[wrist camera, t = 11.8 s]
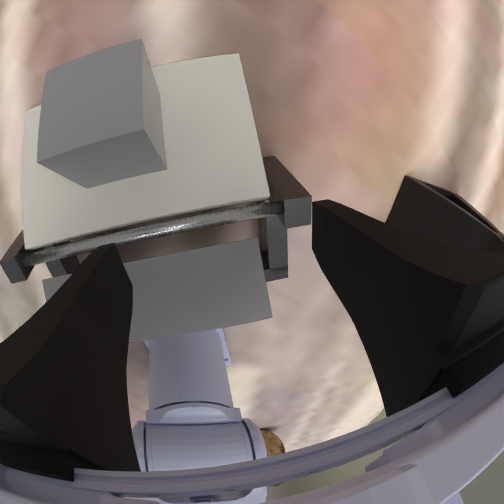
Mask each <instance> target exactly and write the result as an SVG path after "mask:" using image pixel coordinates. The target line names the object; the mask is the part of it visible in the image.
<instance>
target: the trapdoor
mask: <svg viewBox="0 0 504 504" xmlns="http://www.w3.org/2000/svg"><path fill="white" fill-rule="evenodd" d="M151 69H152V72H153V75H154V78H155V81H156V84H157V87H158V90H159V93H160V99H161V112H162V123H163V134H164V144H165V153H166V162H167V170H163V171H158V172H153V173H149V174H144V175H140V176H135V177H131V178H127V179H123V180H119V181H115V182H111V183H107V184H103V185H99V186H95V187H92V188H88V189H86V188H84V187H82V186H80V185H78V184H77V183H75V182H73V181H71V180H69V179H67V178H65V177H63V176H61V175H59V174H57V173H55V172H53V171H52V170H50V169H48V168H46V167H44V166H42V165H40V164H38V163H37V145H38V131H39V121H40V112H41V105H39V106H37V107H34V108H32V109H30V110H28V111H26V117H25V126H24V136H23V149H22V172H21V196H22V219H23V233H24V243H25V249H38V248H42V247H45V246H49V245H53V244H56V243H60V242H64V241H68V240H72V239H76V238H80V237H84V236H88V235H92V234H96V233H100V232H105V231H109V230H113V229H118V228H122V227H126V226H131V225H135V224H140V223H145V222H149V221H154V220H159V219H164V218H168V217H173V216H178V215H183V214H188V213H194V212H199V211H204V210H209V209H215V208H220V207H226V206H232V205H237V204H243V203H249V202H255V201H261V200H267V199H268V198H269V196H270V193H269V188H268V183H267V178H266V174H265V169H264V164H263V159H262V154H261V150H260V145H259V140H258V136H257V131H256V127H255V122H254V118H253V113H252V109H251V104H250V100H249V95H248V91H247V87H246V82H245V78H244V74H243V70H242V66H241V61H240V57H239V53H238V54H228V55H219V56H211V57H204V58H197V59H191V60H185V61H179V62H174V63H169V64H164V65H159V66H155V67H151ZM123 265H124V267H125V269H126V272H127V274H128V276H129V278H130V281H131V283H132V285H133V311H132V319H131V327H130V335H129V343H132V342H139V341H146V340H153V339H160V338H167V337H173V336H179V335H185V334H191V333H197V332H203V331H208V330H214V329H219V328H224V327H229V326H234V325H240V324H244V323H249V322H254V321H259V320H264V319H268V318H272V313H271V307H270V302H269V296H268V291H267V286H266V280H265V275H264V270H263V264H262V259H261V254H260V248H259V243H258V238H251V239H246V240H241V241H235V242H230V243H225V244H219V245H214V246H209V247H203V248H198V249H193V250H188V251H183V252H177V253H172V254H167V255H162V256H157V257H152V258H147V259H142V260H137V261H132V262H127V263H123ZM71 275H72V274H68V275H63V276H58V277H54V278H49V279H44V280H42V281H43V287H44V292H45V297H46V301H48V300H49V299H50V298H51V297H52V296H53V295H54V293H55V292H56V291H57V290H58V289H59V288H60V287H61V286H62V285H63V284H64V283H65V281H66V280H67V279H68V278H69V277H70V276H71Z"/></svg>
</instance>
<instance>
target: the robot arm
mask: <svg viewBox="0 0 504 504" xmlns="http://www.w3.org/2000/svg"><path fill="white" fill-rule="evenodd" d="M312 250H313V252H314V254H315V257H316V259H317V261H318V263H319V265H320V268H321V270H322V271H323V273H324V275H325V276H326V278H327V280H328V281H329V283H330V284H331V286H332V288H333V289H334V291H335V292H336V294H337V296H338V297H339V299H340V300H341V302H342V304H343V305H344V307H345V308H346V310H347V312H348V313H349V315H350V317H351V319H352V321H353V323H354V325H355V327H356V329H357V332H358V334H359V336H360V338H361V341H362V343H363V345H364V348H365V350H366V353H367V355H368V358H369V361H370V363H371V366H372V369H373V372H374V375H375V377H376V380H377V383H378V386H379V390H380V393H381V397H382V400H383V404H384V407H385V411H386V415H387V418H384V419H382V420H380V421H378V422H375V423H373V424H370V425H368V426H366V427H363V428H361V429H358V430H355V431H353V432H350V433H347V434H345V435H342V436H339V437H336V438H333V439H330V440H327V441H324V442H321V443H318V444H315V445H312V446H308V447H305V448H301V449H298V450H294V451H290V452H286V453H283V454H278V455H274V456H270V457H267V451H266V446H265V442H264V439H263V436H262V433H261V431H260V429H259V428H258V426H257V425H256V424H254V423H253V422H252V421H251V420H250V419H248V418H244V419H242V417H241V412H240V408H234V407H233V402H232V397H231V392H230V386H229V381H228V376H227V370H226V367H228V366H230V365H231V364H232V362H231V358H230V354H229V351H228V347H227V343H226V339H225V335H224V331H223V328H219V329H214V330H208V331H203V332H197V333H191V334H185V335H179V336H173V337H167V338H160V339H153V340H146V341H144V343H145V345H146V346H147V348H148V350H149V410H146V421H141V420H140V421H138V422H137V424H136V425H135V426H134V427H133V428H132V429H131V423H130V416H129V407H128V396H127V378H126V366H127V353H128V344H129V335H130V327H131V319H132V311H133V285H132V283H131V281H130V278H129V276H128V274H127V272H126V269H125V267H124V265H123V262H122V260H121V258H120V255H119V253H118V251H117V248H116V246H115V243H109V244H105V245H101V246H99V247H98V248H96V249H95V250H94V251H93V252H92V253H91V254H90V255H89V256H88V257H87V258H86V259H85V260H84V261H83V263H82V264H81V265H80V266H79V267H78V268H77V269H76V270H75V271H74V272H73V274H72V275H71V276H70V277H69V278H68V279H67V280H66V281H65V283H64V284H63V285H62V286H61V287H60V288H59V289H58V290H57V291H56V292H55V293H54V295H53V296H52V297H51V298H50V299H49V300H48V301H47V302H46V303H45V304H44V305H43V306H42V307H41V308H40V309H39V310H38V311H37V312H36V313H35V314H34V315H33V316H32V317H31V318H30V319H29V320H28V321H26V322H25V323H24V324H23V325H22V326H21V327H19V328H18V329H17V330H16V331H15V332H14V333H13V334H11V335H10V336H9V337H8V338H7V339H5V340H4V341H3V342H2V343H0V504H464V503H463V500H462V498H461V496H460V493H459V491H460V490H461V489H462V488H464V487H465V486H466V485H467V484H468V483H469V482H471V481H472V480H473V479H474V478H475V477H476V476H477V475H479V474H480V473H481V472H482V471H483V470H484V469H485V468H486V467H487V466H488V465H489V464H490V463H491V462H492V461H493V460H494V459H495V458H496V457H497V456H498V455H499V454H500V453H501V452H502V451H503V450H504V253H497V252H487V251H480V250H474V249H468V248H463V247H458V246H454V245H449V244H446V243H442V242H438V241H434V240H431V239H427V238H424V237H421V236H418V235H415V234H412V233H409V232H406V231H403V230H401V229H398V228H396V227H393V226H391V225H388V224H386V223H383V222H381V221H379V220H376V219H374V218H372V217H369V216H367V215H365V214H363V213H361V212H358V211H356V210H354V209H352V208H349V207H347V206H345V205H342V204H340V203H337V202H335V201H332V200H328V199H327V200H321V201H315V202H312ZM407 436H408V437H407ZM405 437H406V438H405ZM403 438H404V439H403ZM401 439H403V440H401ZM399 440H401V441H399ZM397 441H399V442H398V443H396V444H394V445H392V446H391V447H389V448H387V449H385V450H384V452H383V454H382V456H380V457H379V458H378V459H377V460H375V461H374V462H372V463H370V464H369V465H367V466H366V468H365V471H366V473H364V474H361V475H359V476H356V477H353V478H350V479H347V480H344V481H342V482H339V483H336V484H333V485H329V486H326V487H323V488H320V489H317V490H313V491H310V492H306V493H303V494H299V495H295V496H291V497H287V498H283V499H278V500H274V501H269V502H266V498H265V497H266V496H267V490H266V486H270V485H274V484H279V483H283V482H287V481H291V480H294V479H298V478H302V477H306V476H309V475H312V474H316V473H319V472H322V471H325V470H328V469H331V468H334V467H337V466H340V465H343V464H345V463H348V462H351V461H353V460H356V459H358V458H361V457H363V456H366V455H368V454H370V453H373V452H375V451H378V450H380V449H382V448H384V447H386V446H389V445H391V444H393V443H395V442H397ZM123 497H136V498H140V500H138V499H129V498H123Z"/></svg>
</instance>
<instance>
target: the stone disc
mask: <svg viewBox="0 0 504 504" xmlns="http://www.w3.org/2000/svg"><path fill="white" fill-rule="evenodd" d="M260 431H261V433H262V436H263V439H264V442H265V446H266V451H267V457H270V456H274V455H278V454H283V453H285V449H284V445H283V443H282V441H281V440H280V439H279V437H278V436H276V435H275V434H273V433H271V432H269V431H265V430H260Z"/></svg>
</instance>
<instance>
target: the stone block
mask: <svg viewBox="0 0 504 504" xmlns="http://www.w3.org/2000/svg"><path fill="white" fill-rule="evenodd" d="M37 163H38V164H40V165H42V166H44V167H46V168H48V169H50V170H52V171H53V172H55V173H57V174H59V175H61V176H63V177H65V178H67V179H69V180H71V181H73V182H75V183H77V184H78V185H80V186H82V187H84V188H86V189H88V188H92V187H95V186H99V185H103V184H107V183H111V182H115V181H119V180H123V179H127V178H131V177H135V176H140V175H144V174H149V173H153V172H158V171H163V170H167V162H166V153H165V144H164V134H163V123H162V112H161V99H160V93H159V90H158V87H157V84H156V81H155V78H154V75H153V72H152V69H151V66H150V63H149V60H148V57H147V54H146V50H145V47H144V44H143V41H142V39H140V40H136V41H132V42H128V43H125V44H121V45H118V46H114V47H111V48H108V49H104V50H101V51H98V52H95V53H92V54H89V55H87V56H84V57H81V58H78V59H76V60H73V61H71V62H68V63H66V64H63V65H61V66H58V67H56V68H54V69H52V70H49V71H47V73H46V79H45V84H44V90H43V97H42V104H41V112H40V121H39V131H38V145H37Z"/></svg>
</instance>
